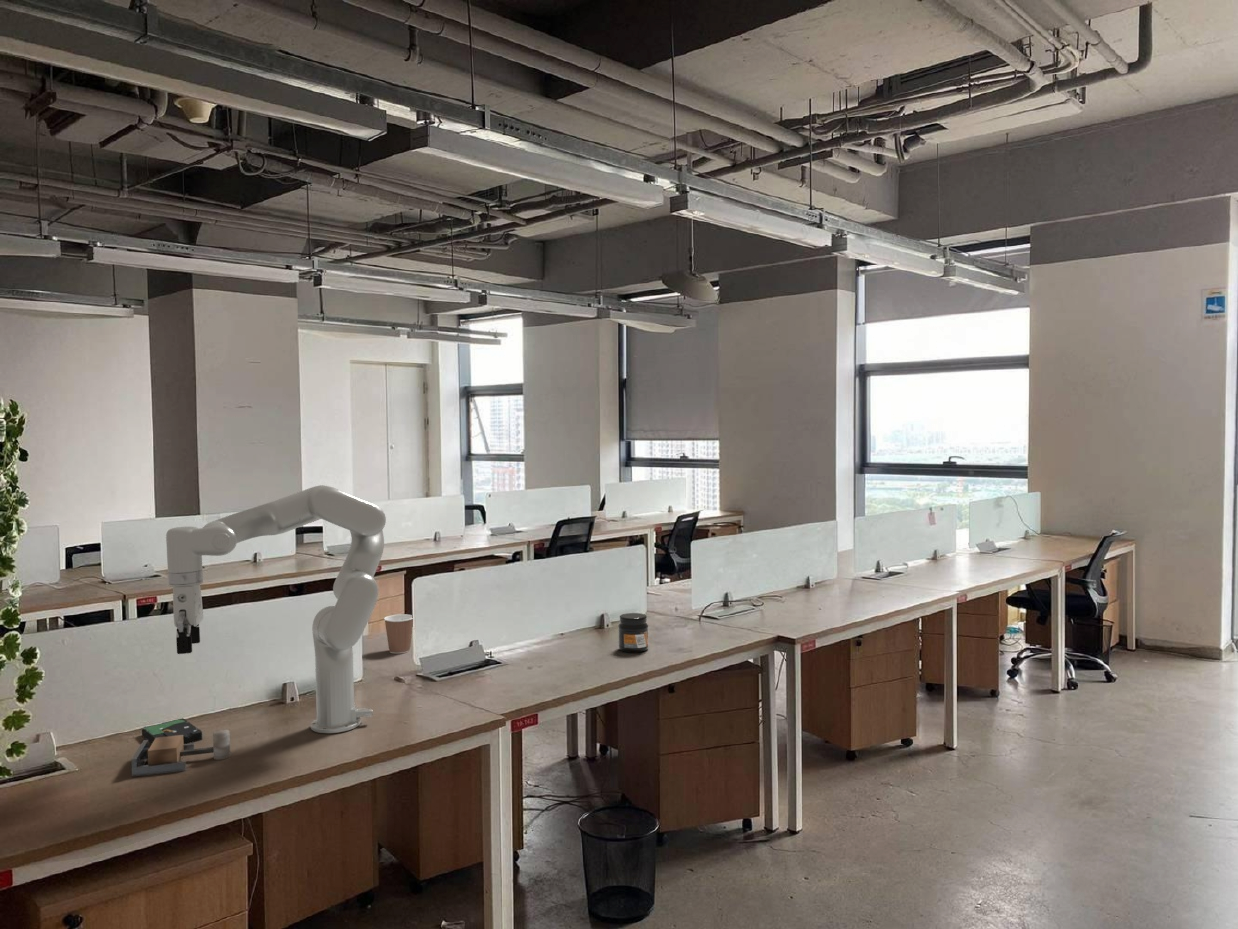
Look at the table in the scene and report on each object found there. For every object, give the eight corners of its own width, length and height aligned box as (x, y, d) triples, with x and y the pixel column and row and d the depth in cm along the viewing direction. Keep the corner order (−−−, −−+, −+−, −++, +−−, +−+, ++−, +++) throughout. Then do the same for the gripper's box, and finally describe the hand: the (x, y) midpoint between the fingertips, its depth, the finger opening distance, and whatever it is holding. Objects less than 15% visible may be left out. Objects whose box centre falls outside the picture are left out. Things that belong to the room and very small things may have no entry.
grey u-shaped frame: (194, 751, 215) (193, 735, 215) (185, 770, 203) (184, 753, 203) (144, 756, 212) (143, 740, 212) (132, 777, 200) (131, 759, 200)
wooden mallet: (232, 749, 216) (231, 725, 216) (227, 762, 208) (226, 737, 207) (156, 758, 211) (155, 733, 211) (148, 772, 203) (147, 746, 202)
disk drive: (203, 742, 224) (183, 727, 234) (203, 731, 223) (183, 717, 234) (159, 752, 216) (140, 737, 227) (159, 741, 216) (140, 726, 227)
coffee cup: (406, 646, 317) (406, 613, 316) (420, 651, 309) (419, 617, 308) (379, 651, 310) (378, 617, 309) (392, 656, 302) (391, 622, 302)
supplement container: (645, 654, 302) (644, 619, 301) (615, 652, 304) (614, 618, 304) (651, 646, 312) (650, 613, 311) (622, 645, 314) (621, 612, 314)
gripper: (195, 583, 205) (198, 656, 206) (209, 571, 222) (212, 638, 222) (160, 585, 203) (163, 658, 204) (176, 573, 220) (179, 641, 220)
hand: (188, 648), depth 213 cm, fingers open, 9 cm apart
